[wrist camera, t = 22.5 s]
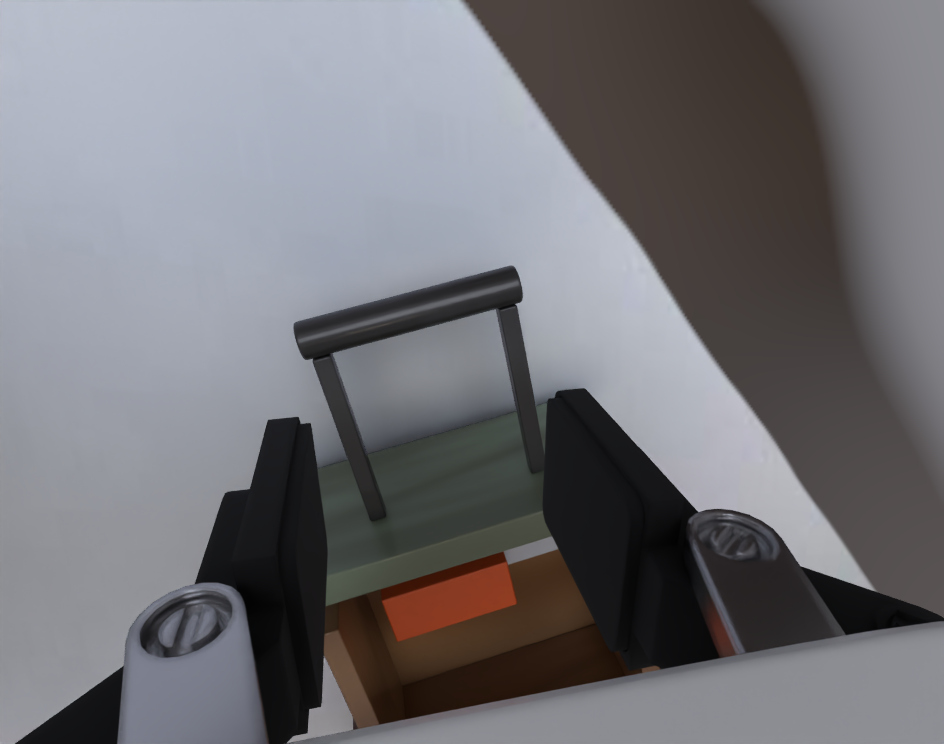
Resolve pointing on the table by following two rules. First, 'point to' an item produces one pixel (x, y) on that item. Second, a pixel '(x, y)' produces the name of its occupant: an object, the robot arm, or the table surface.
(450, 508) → the handled lid slab
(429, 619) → the usb stick
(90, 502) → the table surface
